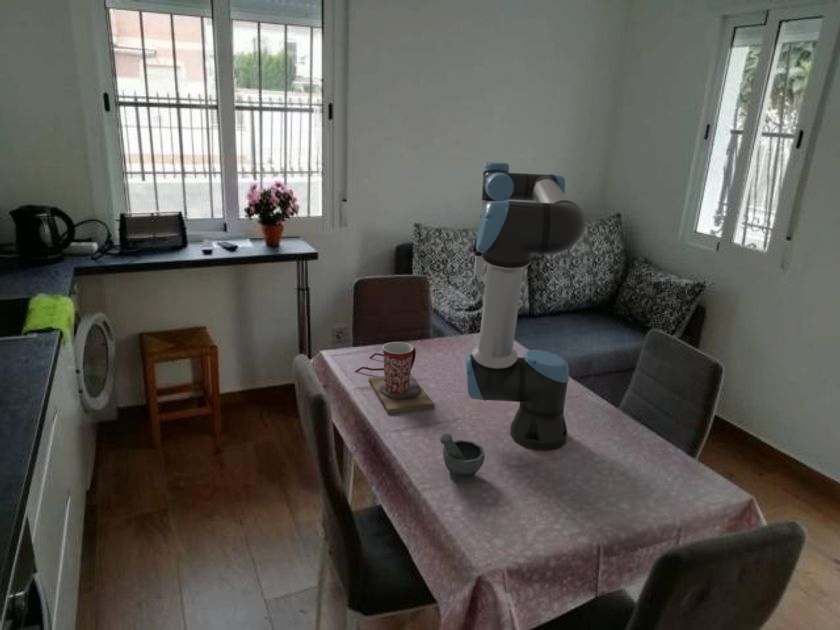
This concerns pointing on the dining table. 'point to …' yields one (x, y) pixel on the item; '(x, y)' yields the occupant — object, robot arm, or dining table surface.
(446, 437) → the mortar and pestle
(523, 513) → the dining table surface
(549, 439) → the robot arm
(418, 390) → the board
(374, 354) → the glasses
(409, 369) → the mug
